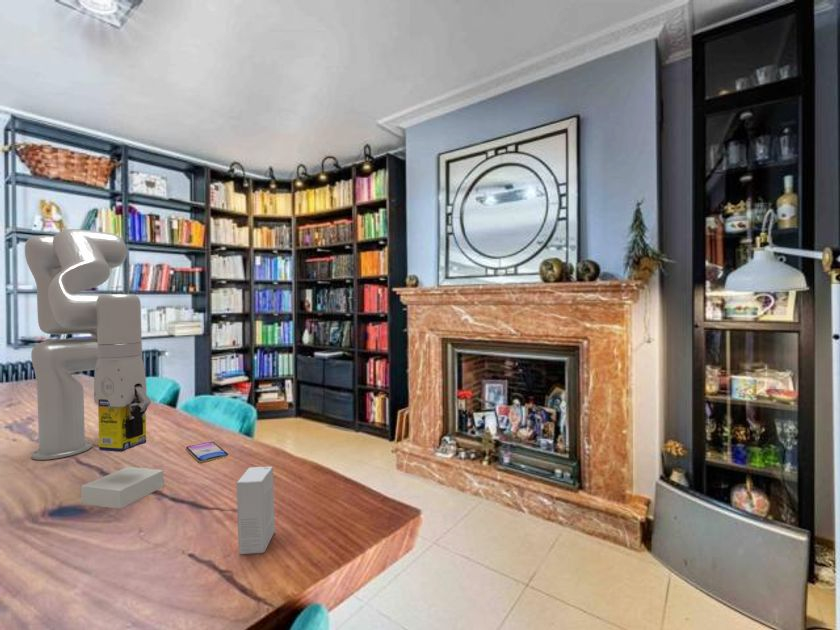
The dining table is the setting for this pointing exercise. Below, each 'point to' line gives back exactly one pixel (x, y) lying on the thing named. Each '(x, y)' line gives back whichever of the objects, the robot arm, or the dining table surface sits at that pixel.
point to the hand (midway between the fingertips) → (123, 434)
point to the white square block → (122, 487)
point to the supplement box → (116, 428)
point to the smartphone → (206, 452)
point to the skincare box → (255, 510)
